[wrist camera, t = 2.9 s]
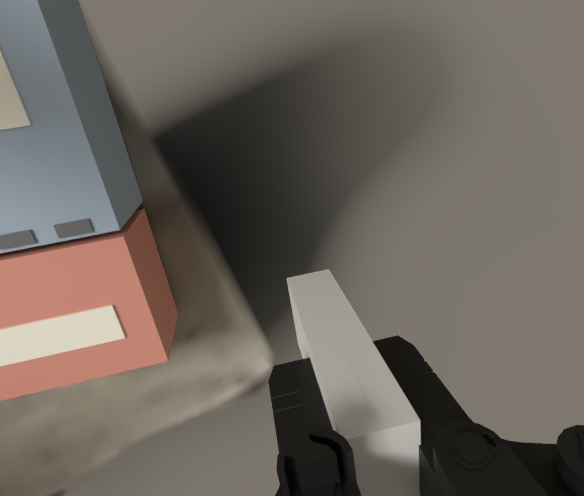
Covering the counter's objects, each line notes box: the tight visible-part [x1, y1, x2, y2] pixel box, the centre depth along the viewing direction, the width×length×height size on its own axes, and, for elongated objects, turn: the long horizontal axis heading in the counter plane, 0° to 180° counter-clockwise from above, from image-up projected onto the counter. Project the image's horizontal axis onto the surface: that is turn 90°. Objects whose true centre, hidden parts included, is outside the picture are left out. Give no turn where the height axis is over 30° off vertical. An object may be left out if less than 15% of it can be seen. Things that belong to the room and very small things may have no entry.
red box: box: [0, 208, 178, 401], centre depth 16 cm, size 9×6×4 cm, turn 99°
